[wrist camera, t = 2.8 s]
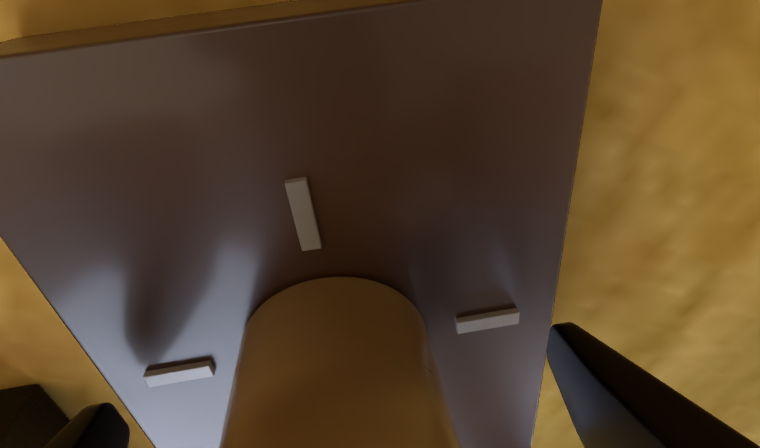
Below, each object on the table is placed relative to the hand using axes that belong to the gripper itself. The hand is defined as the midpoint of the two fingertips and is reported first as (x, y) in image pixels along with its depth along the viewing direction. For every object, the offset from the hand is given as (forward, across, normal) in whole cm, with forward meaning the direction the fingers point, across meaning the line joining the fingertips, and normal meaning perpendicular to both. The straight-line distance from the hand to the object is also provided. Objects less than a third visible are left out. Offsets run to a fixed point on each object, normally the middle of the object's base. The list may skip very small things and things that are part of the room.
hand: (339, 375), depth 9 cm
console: (+4, 0, 0) cm, 4 cm away
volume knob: (+1, 0, 0) cm, 1 cm away
